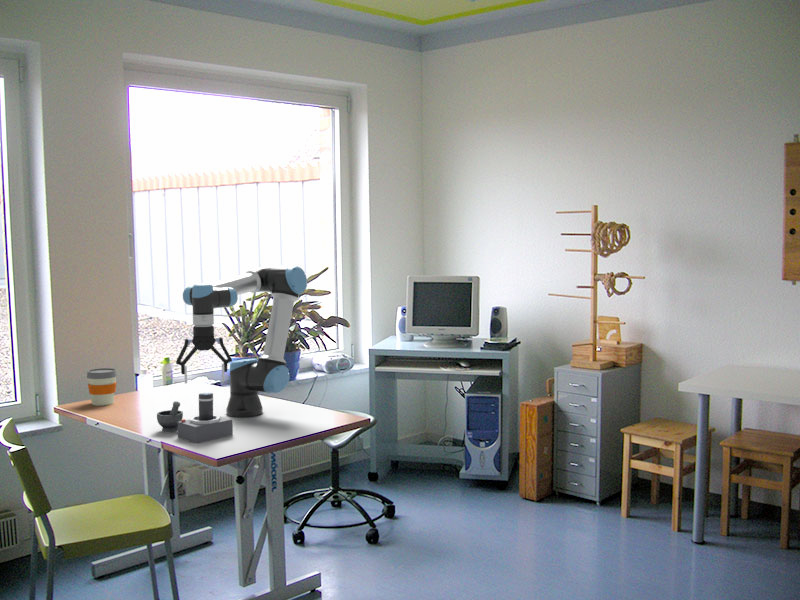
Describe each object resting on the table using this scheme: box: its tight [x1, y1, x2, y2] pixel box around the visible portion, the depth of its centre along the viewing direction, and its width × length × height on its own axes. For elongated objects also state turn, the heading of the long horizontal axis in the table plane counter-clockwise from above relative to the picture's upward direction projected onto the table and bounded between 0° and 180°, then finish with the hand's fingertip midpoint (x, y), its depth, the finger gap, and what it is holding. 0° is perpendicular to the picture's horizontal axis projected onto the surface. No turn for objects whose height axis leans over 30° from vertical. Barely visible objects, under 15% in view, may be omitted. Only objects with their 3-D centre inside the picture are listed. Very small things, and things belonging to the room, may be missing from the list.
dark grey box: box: [177, 414, 234, 444], centre depth 288 cm, size 16×12×7 cm
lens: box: [198, 392, 214, 421], centre depth 288 cm, size 5×5×10 cm
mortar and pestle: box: [156, 401, 184, 433], centre depth 296 cm, size 11×9×12 cm
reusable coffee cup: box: [86, 367, 118, 406], centre depth 344 cm, size 13×13×15 cm
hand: (204, 381), depth 287 cm, fingers open, 13 cm apart
